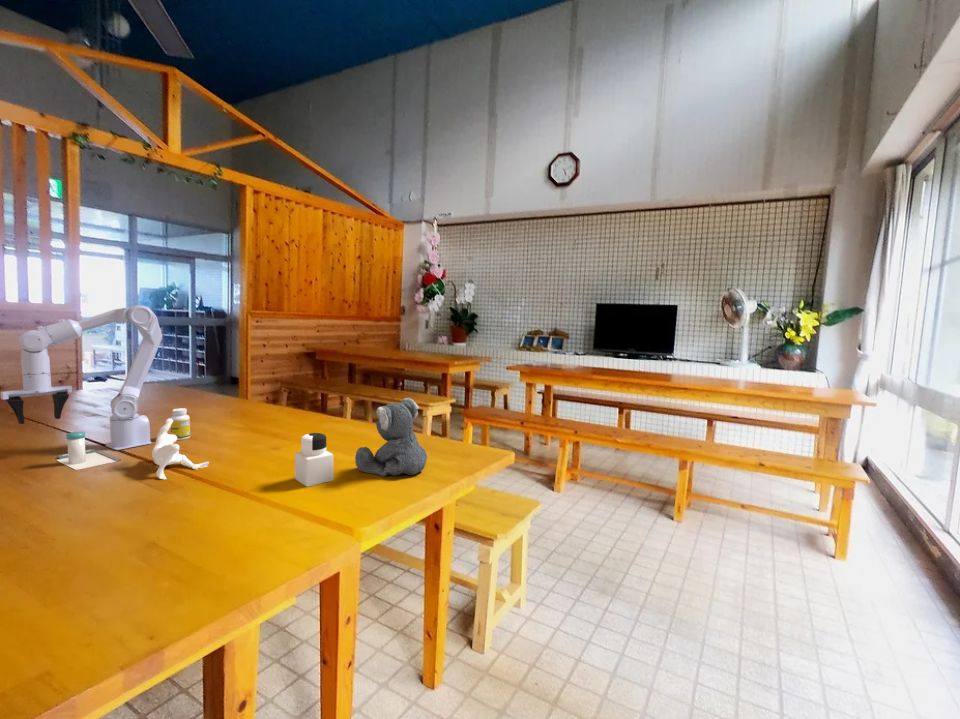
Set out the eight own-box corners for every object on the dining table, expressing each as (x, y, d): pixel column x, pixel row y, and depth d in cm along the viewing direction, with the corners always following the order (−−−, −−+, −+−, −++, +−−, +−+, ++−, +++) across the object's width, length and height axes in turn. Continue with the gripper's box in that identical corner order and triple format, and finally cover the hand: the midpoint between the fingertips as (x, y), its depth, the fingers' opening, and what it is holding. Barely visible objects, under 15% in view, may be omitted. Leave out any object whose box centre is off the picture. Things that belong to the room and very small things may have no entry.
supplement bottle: (167, 438, 152) (166, 409, 152) (184, 435, 157) (183, 407, 156) (177, 441, 150) (175, 411, 149) (193, 437, 155) (192, 408, 154)
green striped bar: (92, 451, 138) (92, 448, 138) (95, 452, 137) (94, 449, 137) (57, 457, 131) (57, 455, 131) (60, 459, 130) (59, 456, 130)
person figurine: (207, 431, 123) (170, 411, 131) (155, 452, 113) (118, 429, 121) (214, 472, 128) (178, 450, 136) (165, 496, 118) (129, 471, 126)
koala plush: (393, 455, 141) (393, 392, 139) (440, 466, 132) (442, 399, 130) (350, 471, 126) (350, 400, 124) (400, 485, 117) (401, 409, 115)
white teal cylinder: (83, 459, 130) (81, 430, 129) (88, 461, 128) (86, 432, 127) (66, 462, 127) (64, 433, 126) (71, 465, 125) (69, 435, 124)
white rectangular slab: (99, 451, 137) (99, 450, 137) (120, 460, 130) (120, 459, 130) (56, 460, 129) (56, 458, 129) (75, 470, 122) (75, 468, 122)
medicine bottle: (321, 473, 124) (320, 429, 123) (333, 480, 119) (333, 435, 118) (294, 479, 119) (294, 434, 118) (306, 487, 114) (306, 440, 113)
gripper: (4, 377, 121) (8, 428, 122) (75, 372, 133) (77, 418, 135) (-4, 374, 125) (0, 424, 126) (65, 370, 137) (68, 415, 138)
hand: (39, 420), depth 131 cm, fingers open, 7 cm apart
